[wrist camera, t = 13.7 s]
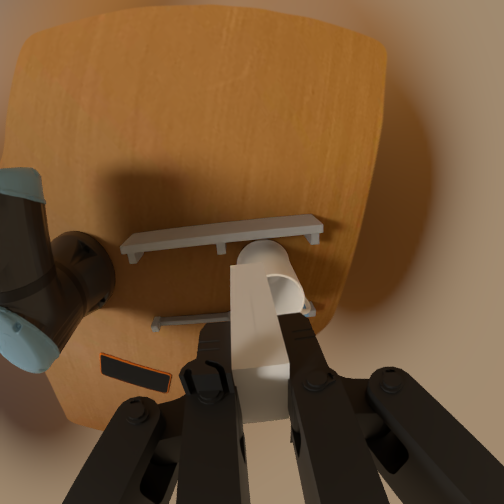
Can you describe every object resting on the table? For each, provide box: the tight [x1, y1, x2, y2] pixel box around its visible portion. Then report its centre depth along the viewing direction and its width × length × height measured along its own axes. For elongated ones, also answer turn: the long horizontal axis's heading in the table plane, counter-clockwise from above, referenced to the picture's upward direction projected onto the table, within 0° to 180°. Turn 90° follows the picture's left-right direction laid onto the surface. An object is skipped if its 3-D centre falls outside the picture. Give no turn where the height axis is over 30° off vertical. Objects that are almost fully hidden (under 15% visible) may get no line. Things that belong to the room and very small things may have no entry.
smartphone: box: [100, 353, 171, 393], centre depth 53 cm, size 8×17×1 cm, turn 72°
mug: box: [237, 239, 311, 315], centre depth 40 cm, size 12×8×12 cm
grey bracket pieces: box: [120, 214, 323, 332], centre depth 42 cm, size 29×17×6 cm, turn 95°
